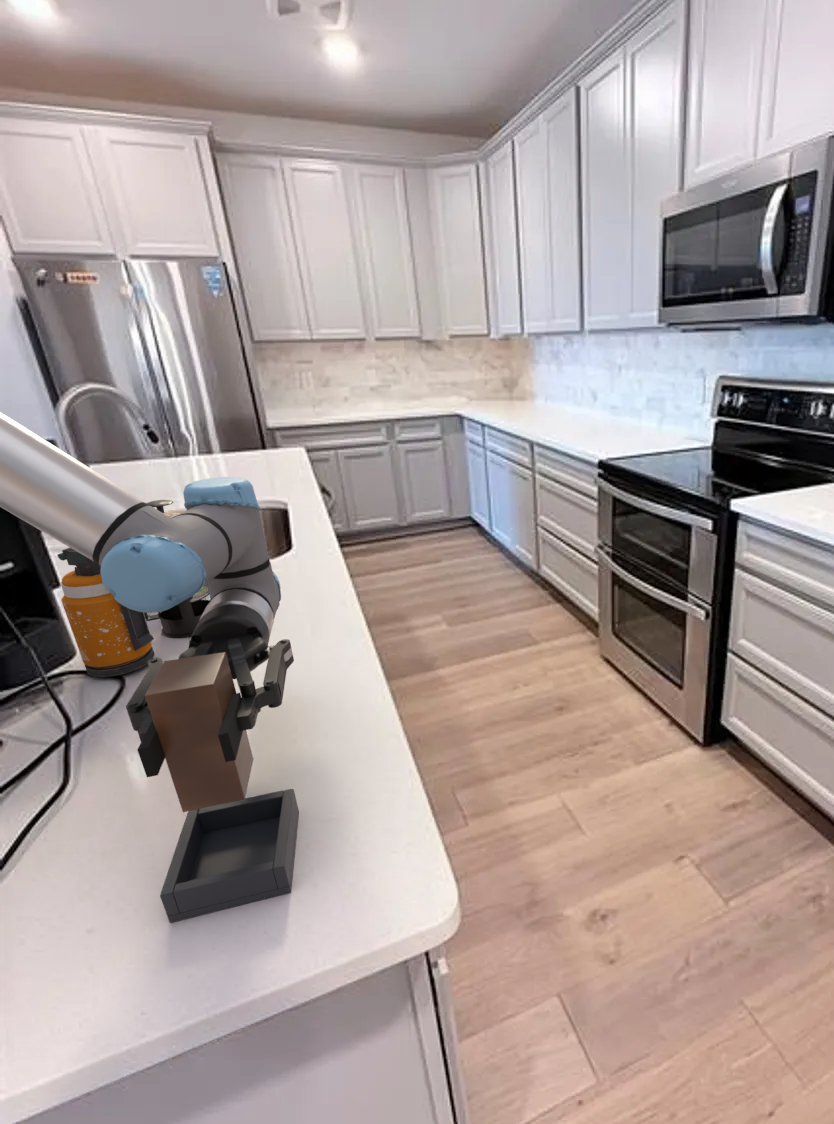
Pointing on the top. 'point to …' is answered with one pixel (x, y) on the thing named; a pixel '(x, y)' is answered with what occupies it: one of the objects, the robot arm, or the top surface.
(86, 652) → the canister
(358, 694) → the top surface
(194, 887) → the socket pad
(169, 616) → the french press
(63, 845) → the top surface
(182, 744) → the brown rectangular block
